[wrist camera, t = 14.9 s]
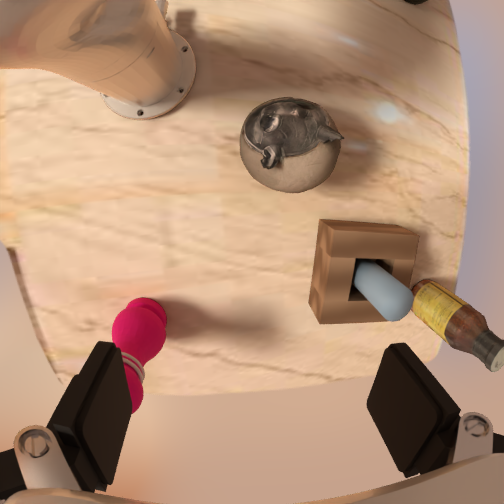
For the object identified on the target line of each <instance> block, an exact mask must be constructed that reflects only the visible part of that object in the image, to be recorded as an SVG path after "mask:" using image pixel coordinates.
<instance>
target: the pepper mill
mask: <svg viewBox="0 0 504 504" xmlns="http://www.w3.org/2000/svg"><path fill="white" fill-rule="evenodd" d="M166 323H167V317H166V313H165V311H164V310H163V308H162V307H161V306H160V305H159V304H158V303H157V302H155V301H153V300H151V299H148V298H137V299H135V300H132V301H131V302H130V303H129V304H128V305H127V307H126V309H124V310H123V311H121V312H120V313H119V314H118V315H117V317H116V319H115V321H114V323H113V327H112V340H113V343H115V345H116V347H119V348H120V349H121V353H122V358H123V363H124V368H125V373H126V378H127V383H128V387H129V391H130V396H131V400H132V406H133V407H132V414H133V413H134V412H135V411H136V410H137V409H138V408H139V406H140V405H141V402H142V400H143V387H142V383H143V380H144V377H145V372H144V368H143V367H144V365H145V364H146V362H148V361H149V360H151V359H152V358H153V357H155V356H156V355H157V354H158V353H159V351H160V350H161V349H162V347H163V344H164V342H165V338H166V331H165V327H166Z"/></svg>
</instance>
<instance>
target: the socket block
mask: <svg viewBox="0 0 504 504" xmlns="http://www.w3.org/2000/svg"><path fill="white" fill-rule="evenodd" d="M418 242H419V235H417V234H415V233H413V232H410V231H408V230H406V229H404V228H402V227H400V226H398V225H390V224H378V223H366V222H353V221H339V220H324V219H319V226H318V235H317V243H316V251H315V259H314V267H313V275H312V282H311V289H310V296H309V305H310V307H311V309H312V311H313V312H314V314H315V316H316V318H317V320H318V322H319V324H343V323H366V322H383V321H388V320H386V319H385V318H384V317H383V316H382V315H381V314H380V312H379V311H378V310H377V309H376V308H375V307H374V306H373V305H372V304H371V303H370V302H369V301H368V300H367V298H366V297H365V296H364V295H363V294H362V293H361V292H360V291H359V290H358V289H357V288H356V287H355V286H354V285H353V284H352V283H351V282H352V277H353V271H354V265H355V259H356V258H369V259H371V260H372V261H374V262H375V263H376V264H378V265H379V266H380V267H381V268H383V269H384V270H385V271H387V272H388V273H389V274H391V275H392V276H393V277H394V278H396V279H397V280H398V281H399V282H401V283H402V284H403V285H404V286H406V287H407V288H409V284H410V280H411V275H412V271H413V266H414V262H415V257H416V252H417V247H418Z"/></svg>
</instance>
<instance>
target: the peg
mask: <svg viewBox="0 0 504 504" xmlns="http://www.w3.org/2000/svg"><path fill="white" fill-rule="evenodd" d="M351 283H352V284H353V285H354V286H355V287H356V288H357V289H358V290H359V291H360V292H361V293H362V294H363V295H364V296H365V297H366V298H367V300H368V301H369V302H370V303H371V304H372V305H373V306H374V307H375V308H376V309H377V310H378V311H379V312H380V314H381V315H382V316H383V317H384V318H385V319H386V320H388V321H398V320H400V319H402V318H403V317H405V316H406V315H407V314H408V312H409V311H410V309H411V307H412V305H413V294H412V292H411V290H409V289H408V288H407V287H406V286H404V285H403V284H402V283H401V282H399V281H398V280H397V279H396V278H394V277H393V276H392V275H391V274H389V273H388V272H387V271H385V270H384V269H383V268H381V267H380V266H379V265H378V264H376V263H375V262H374V261H372V260H371V259H369V258H356V259H355V265H354V271H353V277H352V282H351Z"/></svg>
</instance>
